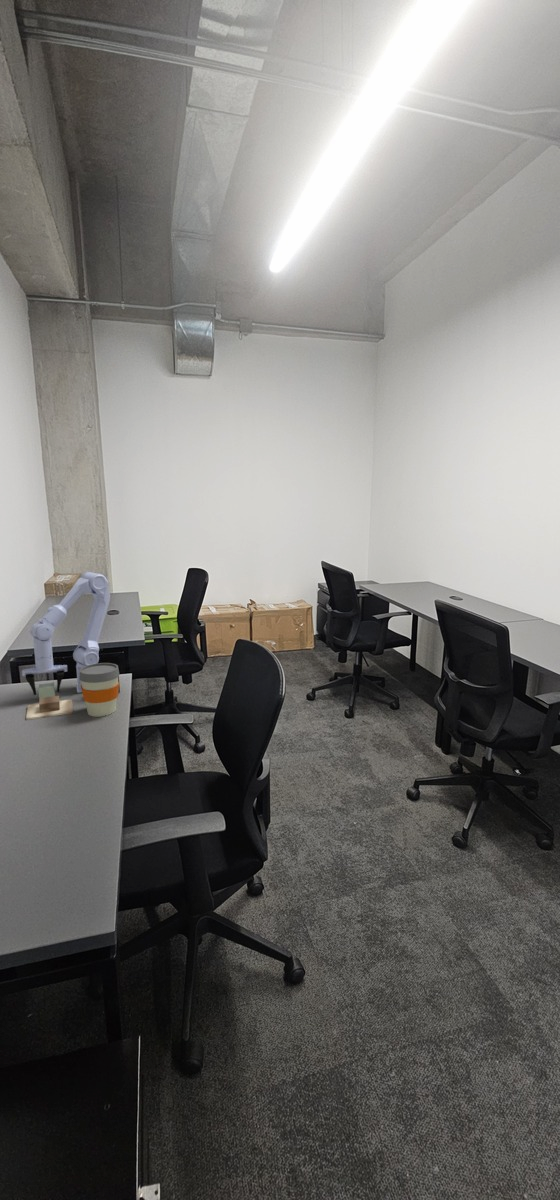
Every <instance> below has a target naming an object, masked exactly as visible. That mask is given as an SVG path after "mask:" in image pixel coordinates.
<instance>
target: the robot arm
mask: <svg viewBox="0 0 560 1200" xmlns="http://www.w3.org/2000/svg"><path fill="white" fill-rule="evenodd" d="M109 584H110V582H109V580H108V579H107V578H106V576H105V575H104V574H102V573H95V572H92V571H87V572H84V573H83V574H82V575H81V577H79V578H78V579H76V582H75V584H74V585H73V586H72V588H71V589H70V590H69V591H68V593H67V594H66V595H65V596H64V597H63V599H62V600H61V601H60V603H58V604H53V605H52V606H48V608H47V612H46V613H45V614H44V615H43V616H42V617H41V618H39V619H38V622H35V623H34V624H32V626H31V628H30V630H29V633H30V636H32V637H33V649H34V651H33V652H34V661H35V662H34V664H35V667H30V668H24V669H22V670H21V675H22V677H25V680H26V681H27V683H28V684H29V686H30V688H31V690H32V694H33V696H36V695H37V688H36V681H35V675H43V674H52V673H56V682H57V684H56V691H57V693H60V688H61V684H62V680H63V678H64V675H65V672H68V665H67V664H63V665H62V664H55V665H54V658H53V644H52V637H54V633H55V632H54V631H55V629H56V628H58V626H59V625H60V624H61V623H62V622H63V621H64V619H66V617H67V616H68V613H67V612H68V611H67V610H69V609H70V607H71V606H73V604H75V603H76V601H77V600H78V599H80V598H81V596H82V595H85V594H91V596H92V597H93V598H94V599H93V600H94V601H93V603H92V607H91V610H90V614H89V616H88V617H89V618H88V621H87V623H86V627H85V631H84V635H83V637H82V640H80V641H79V642H78V644H77V647H76V648H75V649H74V651H73V653H72V657H73V660H74V661H75V662H76V665H75V668H76V681H77V685H76V693H79V694H81V693H82V690H81V686H82V684H81V680H80V679H79V676H80V669H81V668H83V667H85V666H88V665H92V664H98V663H99V662H100V661H99V660H100V657H99V651H100V647H99V639H100V635H101V633H102V628H103V625H104V621H105V618H106V614H107V611H108V608H109V604H110V601H111V592H110V588H109Z"/></svg>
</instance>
